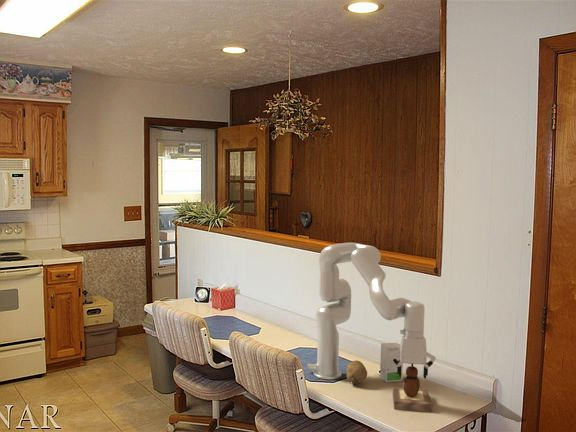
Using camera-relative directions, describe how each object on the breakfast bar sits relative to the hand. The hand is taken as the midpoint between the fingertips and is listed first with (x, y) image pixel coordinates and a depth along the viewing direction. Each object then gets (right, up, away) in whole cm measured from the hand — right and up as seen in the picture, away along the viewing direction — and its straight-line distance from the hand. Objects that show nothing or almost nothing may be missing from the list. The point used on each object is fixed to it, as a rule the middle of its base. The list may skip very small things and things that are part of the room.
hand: (412, 376), depth 214 cm
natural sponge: (-20, -9, +20) cm, 29 cm away
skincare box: (-4, -9, +26) cm, 27 cm away
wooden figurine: (0, -8, +1) cm, 8 cm away
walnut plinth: (0, -11, +1) cm, 11 cm away
